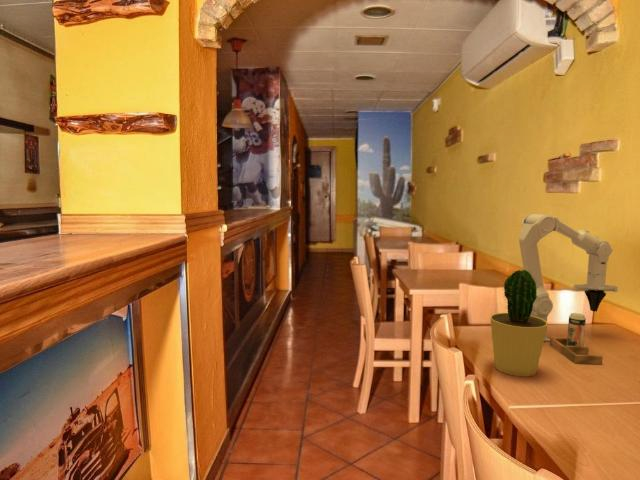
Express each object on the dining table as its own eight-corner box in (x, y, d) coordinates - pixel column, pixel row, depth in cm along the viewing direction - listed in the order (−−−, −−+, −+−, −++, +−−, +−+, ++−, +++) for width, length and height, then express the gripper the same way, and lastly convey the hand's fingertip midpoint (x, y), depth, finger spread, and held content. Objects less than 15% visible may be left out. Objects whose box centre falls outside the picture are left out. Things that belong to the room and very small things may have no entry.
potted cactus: (523, 358, 145) (530, 263, 141) (556, 378, 130) (564, 272, 126) (477, 360, 142) (483, 263, 139) (505, 380, 127) (511, 272, 124)
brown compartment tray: (575, 363, 141) (575, 355, 140) (549, 345, 158) (550, 337, 157) (602, 364, 140) (602, 356, 140) (573, 345, 157) (574, 338, 157)
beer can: (563, 348, 154) (565, 313, 153) (573, 347, 156) (576, 312, 154) (575, 353, 150) (578, 317, 148) (586, 351, 151) (589, 316, 150)
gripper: (581, 275, 162) (578, 313, 163) (624, 276, 161) (620, 314, 163) (571, 271, 169) (568, 308, 170) (612, 272, 168) (609, 309, 170)
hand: (593, 310), depth 167 cm, fingers closed
